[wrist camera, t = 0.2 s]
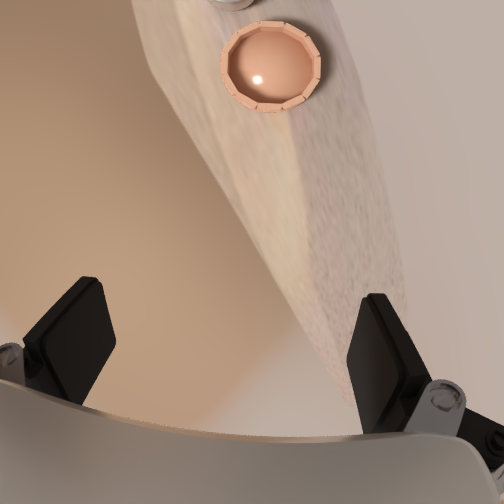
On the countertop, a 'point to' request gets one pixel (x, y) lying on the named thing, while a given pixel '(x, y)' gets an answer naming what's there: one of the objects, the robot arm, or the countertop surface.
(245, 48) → the round tray
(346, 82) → the countertop surface
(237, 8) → the plastic bottle
